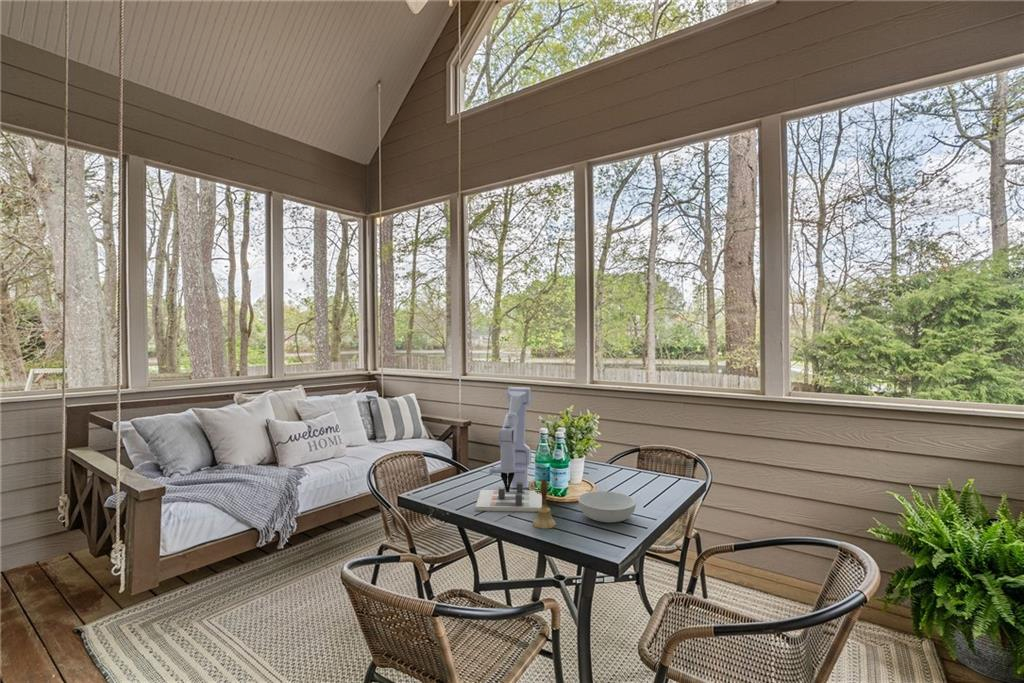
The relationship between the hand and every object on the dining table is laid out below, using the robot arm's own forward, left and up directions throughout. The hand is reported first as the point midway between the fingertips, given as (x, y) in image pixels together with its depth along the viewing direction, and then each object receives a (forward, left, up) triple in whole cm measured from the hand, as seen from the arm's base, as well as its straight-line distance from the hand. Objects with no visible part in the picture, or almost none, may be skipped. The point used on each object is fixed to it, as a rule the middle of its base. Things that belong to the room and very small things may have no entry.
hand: (507, 491), depth 191 cm
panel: (0, +1, -4) cm, 4 cm away
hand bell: (+22, +14, -5) cm, 27 cm away
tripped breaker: (0, -2, -2) cm, 3 cm away
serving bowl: (+15, +37, -5) cm, 40 cm away
